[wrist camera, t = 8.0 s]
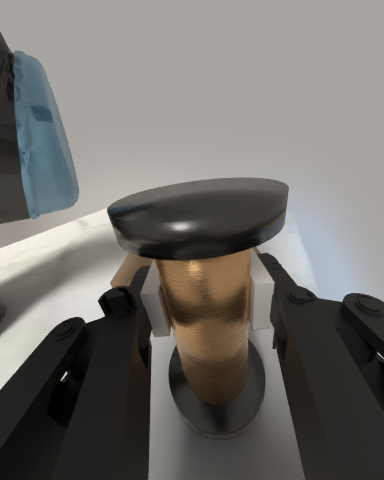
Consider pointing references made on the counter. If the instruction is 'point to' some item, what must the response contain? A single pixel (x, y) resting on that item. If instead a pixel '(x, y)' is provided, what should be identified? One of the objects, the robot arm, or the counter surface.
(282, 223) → the bobbin
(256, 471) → the counter surface
